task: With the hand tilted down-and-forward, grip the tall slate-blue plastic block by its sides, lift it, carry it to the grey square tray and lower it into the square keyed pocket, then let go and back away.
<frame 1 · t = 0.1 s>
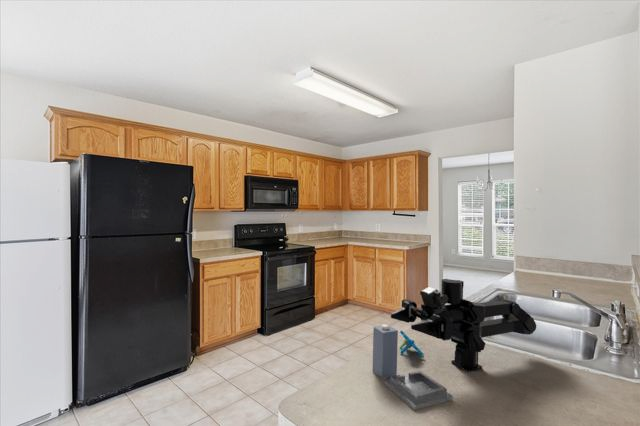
hand: (400, 321, 89), 17 cm above the countertop, tool horizontal, fingers open, 9 cm apart
grey square tray: (417, 392, 83), on the countertop
gear: (410, 354, 106), on the countertop
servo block: (384, 373, 93), on the countertop
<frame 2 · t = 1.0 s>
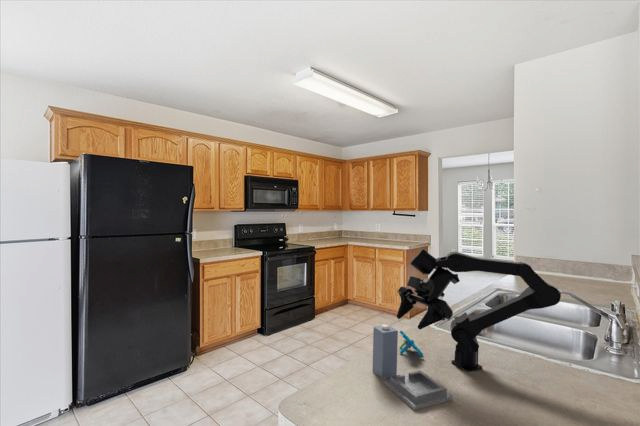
hand: (407, 323, 96), 14 cm above the countertop, tool tilted 45°, fingers open, 9 cm apart
nothing on the countertop moved.
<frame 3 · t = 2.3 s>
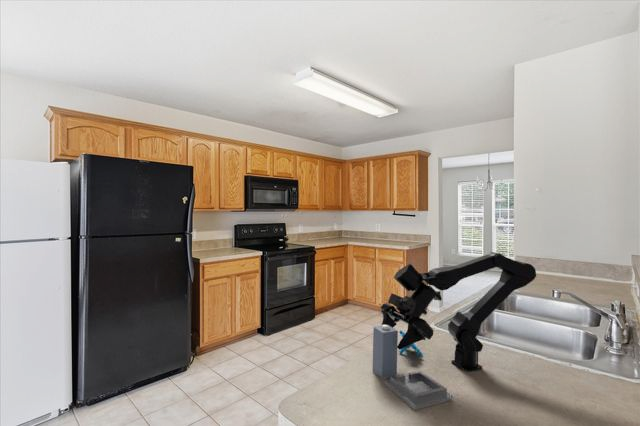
hand: (388, 342, 93), 9 cm above the countertop, tool tilted 45°, fingers open, 9 cm apart
nothing on the countertop moved.
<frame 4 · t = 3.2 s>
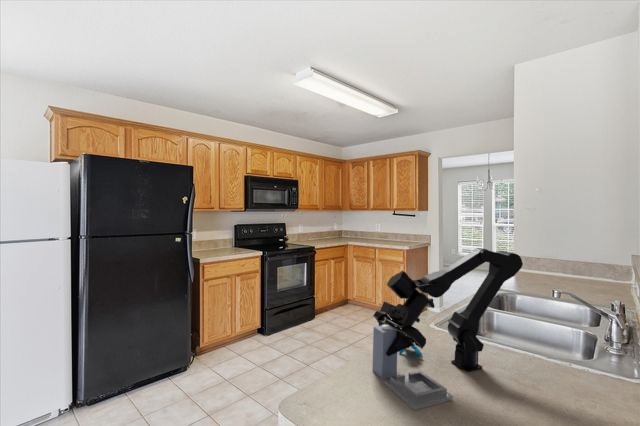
hand: (380, 351, 92), 7 cm above the countertop, tool tilted 45°, fingers closed on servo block, 5 cm apart
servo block: (384, 372, 93), on the countertop, touching gripper
everything else where it was.
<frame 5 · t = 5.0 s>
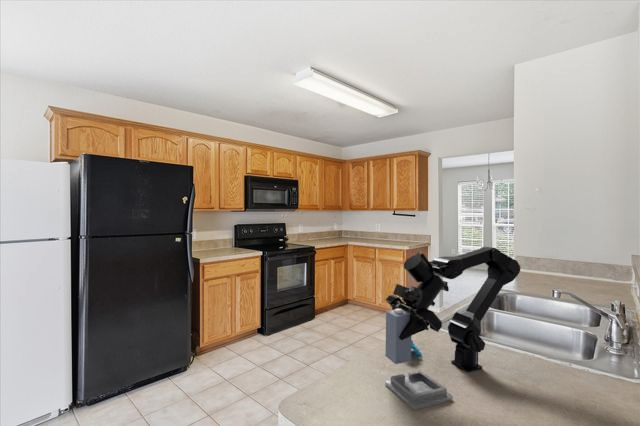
hand: (394, 335, 88), 13 cm above the countertop, tool tilted 45°, fingers closed on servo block, 5 cm apart
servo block: (398, 358, 89), point 6 cm above the countertop, touching gripper
everything else where it was.
when the fingers open (9 cm above the countertop, at t = 6.5 s): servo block drops 1 cm, resting on grey square tray.
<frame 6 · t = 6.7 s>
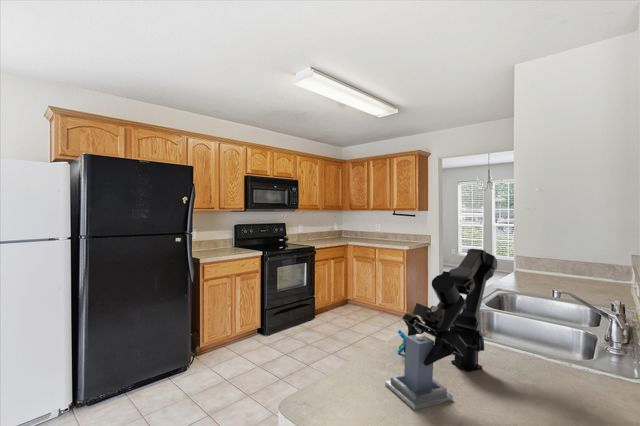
hand: (414, 358, 82), 9 cm above the countertop, tool tilted 45°, fingers open, 7 cm apart
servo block: (417, 387, 83), point 1 cm above the countertop, touching grey square tray
everything else where it was.
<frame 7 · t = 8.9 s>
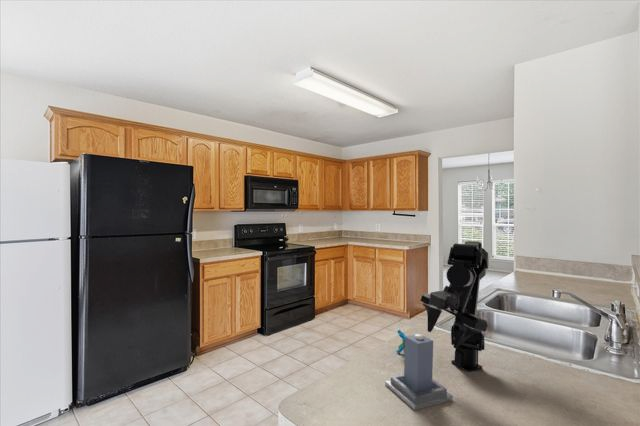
hand: (441, 339, 89), 12 cm above the countertop, tool tilted 20°, fingers open, 9 cm apart
nothing on the countertop moved.
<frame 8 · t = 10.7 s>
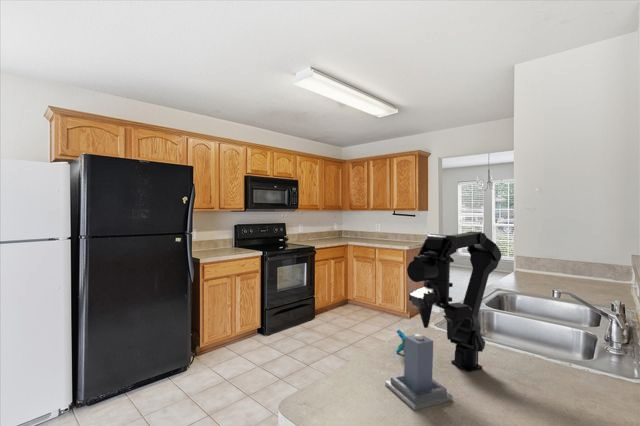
hand: (437, 333, 90), 13 cm above the countertop, tool pointing down, fingers open, 9 cm apart
at the end: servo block 0.1 cm off-centre on the grey square tray, point 1.0 cm above the grey square tray's base; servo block tilted 0°; the gripper is holding nothing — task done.
